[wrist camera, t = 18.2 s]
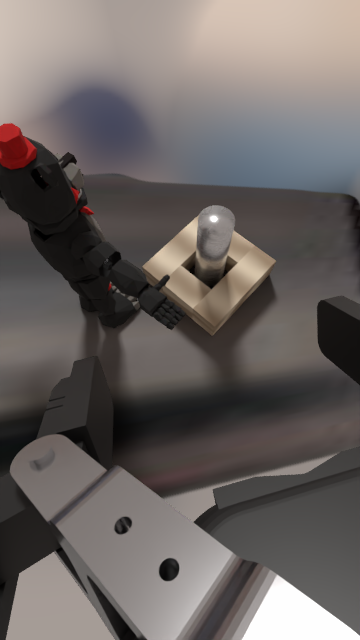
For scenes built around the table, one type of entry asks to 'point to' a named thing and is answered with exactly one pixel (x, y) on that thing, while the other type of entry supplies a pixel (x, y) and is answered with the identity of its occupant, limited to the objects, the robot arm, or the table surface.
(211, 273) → the pin
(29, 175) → the toy
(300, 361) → the table surface
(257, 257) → the socket
